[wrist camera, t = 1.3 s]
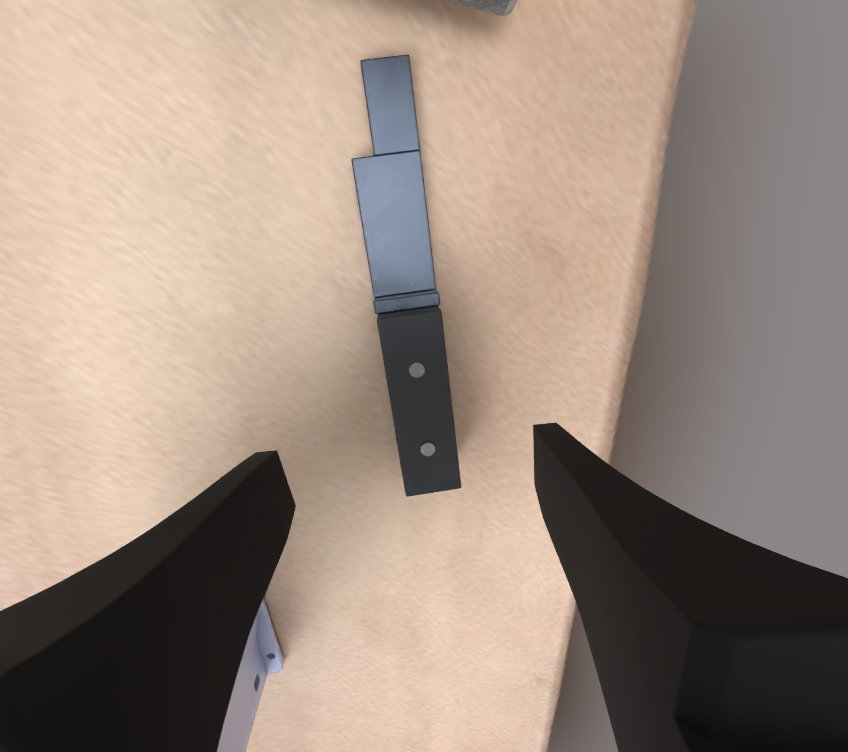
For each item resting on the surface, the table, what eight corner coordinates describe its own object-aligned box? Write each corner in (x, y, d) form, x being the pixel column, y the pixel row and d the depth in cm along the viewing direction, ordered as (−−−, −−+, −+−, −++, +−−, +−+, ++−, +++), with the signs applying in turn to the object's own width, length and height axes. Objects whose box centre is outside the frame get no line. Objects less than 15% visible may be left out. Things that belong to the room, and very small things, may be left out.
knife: (455, 460, 23) (463, 489, 20) (402, 468, 23) (404, 498, 20) (408, 58, 17) (412, 23, 14) (336, 66, 17) (326, 33, 14)
